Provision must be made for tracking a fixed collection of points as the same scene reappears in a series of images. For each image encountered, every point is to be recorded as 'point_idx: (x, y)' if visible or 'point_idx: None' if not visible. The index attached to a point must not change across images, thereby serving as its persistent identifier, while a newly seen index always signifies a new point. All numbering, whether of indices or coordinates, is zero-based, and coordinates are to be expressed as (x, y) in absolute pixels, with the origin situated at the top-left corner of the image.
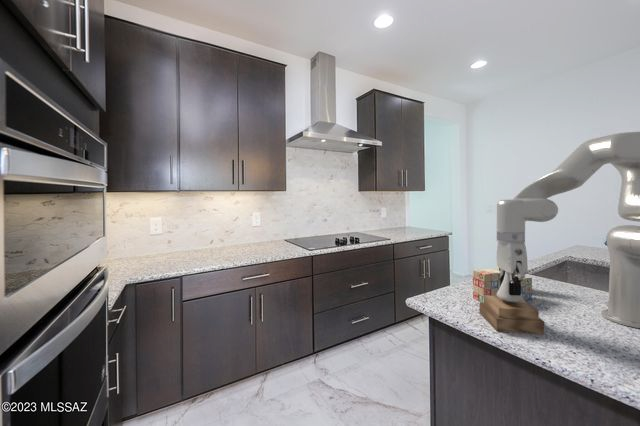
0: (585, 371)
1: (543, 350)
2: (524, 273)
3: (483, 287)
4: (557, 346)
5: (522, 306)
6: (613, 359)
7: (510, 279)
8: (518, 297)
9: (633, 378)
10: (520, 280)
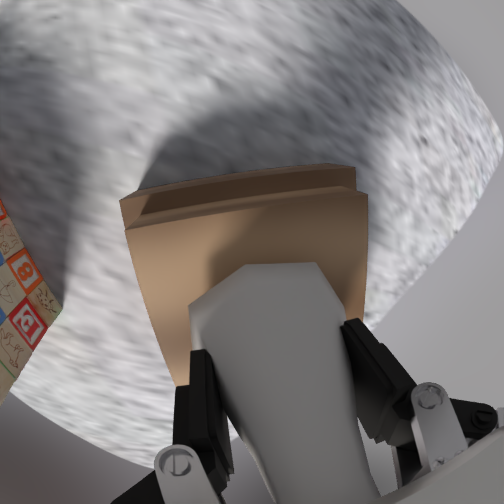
0: (477, 175)
1: (424, 223)
2: (495, 438)
3: (26, 357)
4: (401, 166)
5: (323, 266)
6: (427, 61)
7: (400, 457)
8: (341, 316)
9: (477, 94)
10: (468, 410)
